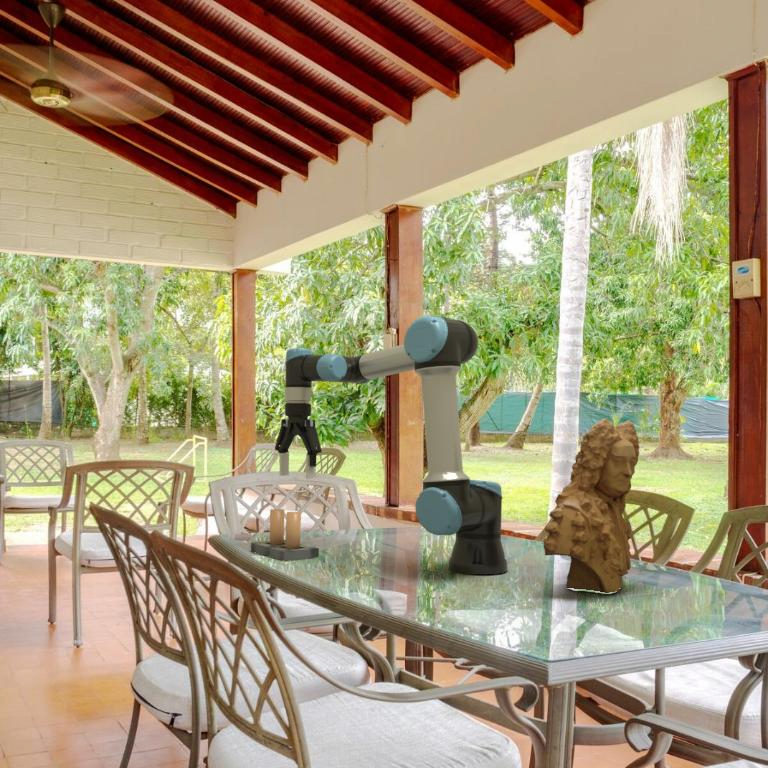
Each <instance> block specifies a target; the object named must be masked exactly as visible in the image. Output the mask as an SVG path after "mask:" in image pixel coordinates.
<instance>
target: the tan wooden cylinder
mask: <svg viewBox="0 0 768 768" xmlns="http://www.w3.org/2000/svg"><path fill="white" fill-rule="evenodd" d="M285 519H286V521H285V537H284V540H285V549H288V550H292V549H300V544H301V529H302V528H301V525H302V524H301V523H302V522H301V521H302V512H301V511H300V512H299V511H287V512H286V515H285Z"/></svg>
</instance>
